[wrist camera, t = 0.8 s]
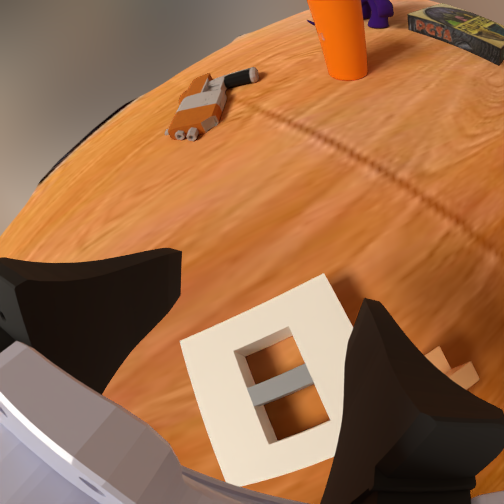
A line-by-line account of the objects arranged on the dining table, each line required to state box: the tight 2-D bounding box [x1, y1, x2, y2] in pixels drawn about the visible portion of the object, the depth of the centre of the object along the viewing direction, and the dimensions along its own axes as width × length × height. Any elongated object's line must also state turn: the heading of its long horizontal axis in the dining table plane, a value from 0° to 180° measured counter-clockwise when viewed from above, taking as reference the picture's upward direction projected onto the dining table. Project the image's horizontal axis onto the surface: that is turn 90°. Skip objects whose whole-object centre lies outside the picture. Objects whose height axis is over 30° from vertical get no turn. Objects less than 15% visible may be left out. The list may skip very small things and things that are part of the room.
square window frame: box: [180, 273, 353, 487], centre depth 23 cm, size 14×14×3 cm
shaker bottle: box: [307, 0, 368, 81], centre depth 35 cm, size 9×9×20 cm
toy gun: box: [165, 67, 259, 141], centre depth 48 cm, size 3×19×15 cm
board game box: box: [407, 3, 504, 66], centre depth 41 cm, size 24×24×5 cm
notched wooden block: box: [425, 346, 480, 390], centre depth 16 cm, size 6×2×8 cm, turn 20°
